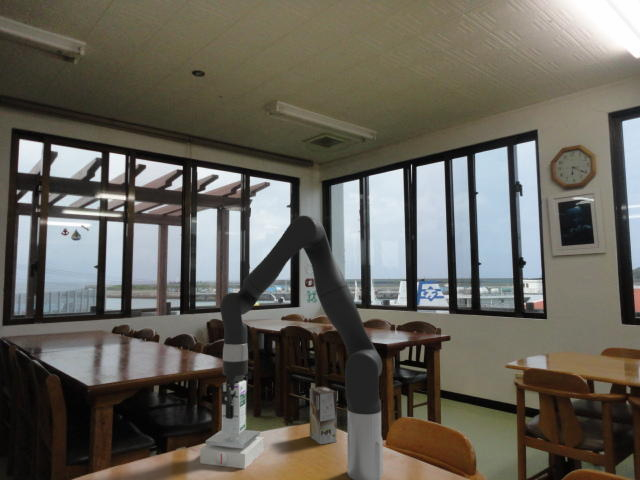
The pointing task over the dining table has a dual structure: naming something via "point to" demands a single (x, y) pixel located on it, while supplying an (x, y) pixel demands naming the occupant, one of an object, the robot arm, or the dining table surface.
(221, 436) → the pan
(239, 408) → the syrup box
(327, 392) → the coffee box
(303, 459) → the dining table surface
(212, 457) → the white square slab
